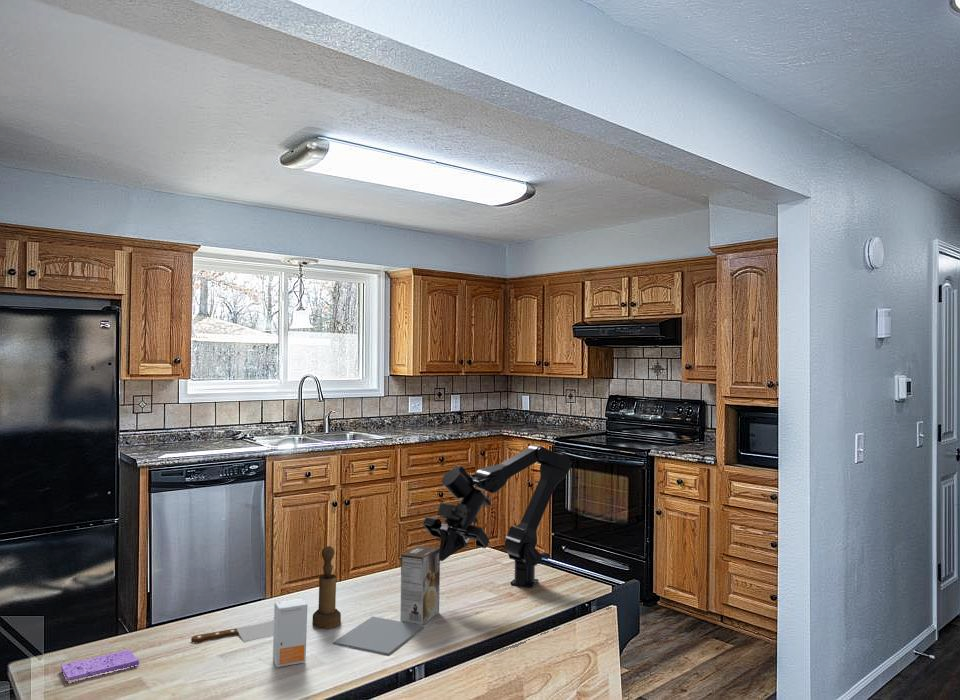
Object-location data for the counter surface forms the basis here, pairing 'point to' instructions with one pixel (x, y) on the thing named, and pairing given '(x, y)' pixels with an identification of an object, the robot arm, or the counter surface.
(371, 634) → the mat
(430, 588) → the coffee box
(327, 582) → the mortar and pestle
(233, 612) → the counter surface
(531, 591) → the counter surface
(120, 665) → the sponges
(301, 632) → the skincare box
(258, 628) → the kitchen cleaver
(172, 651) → the counter surface
